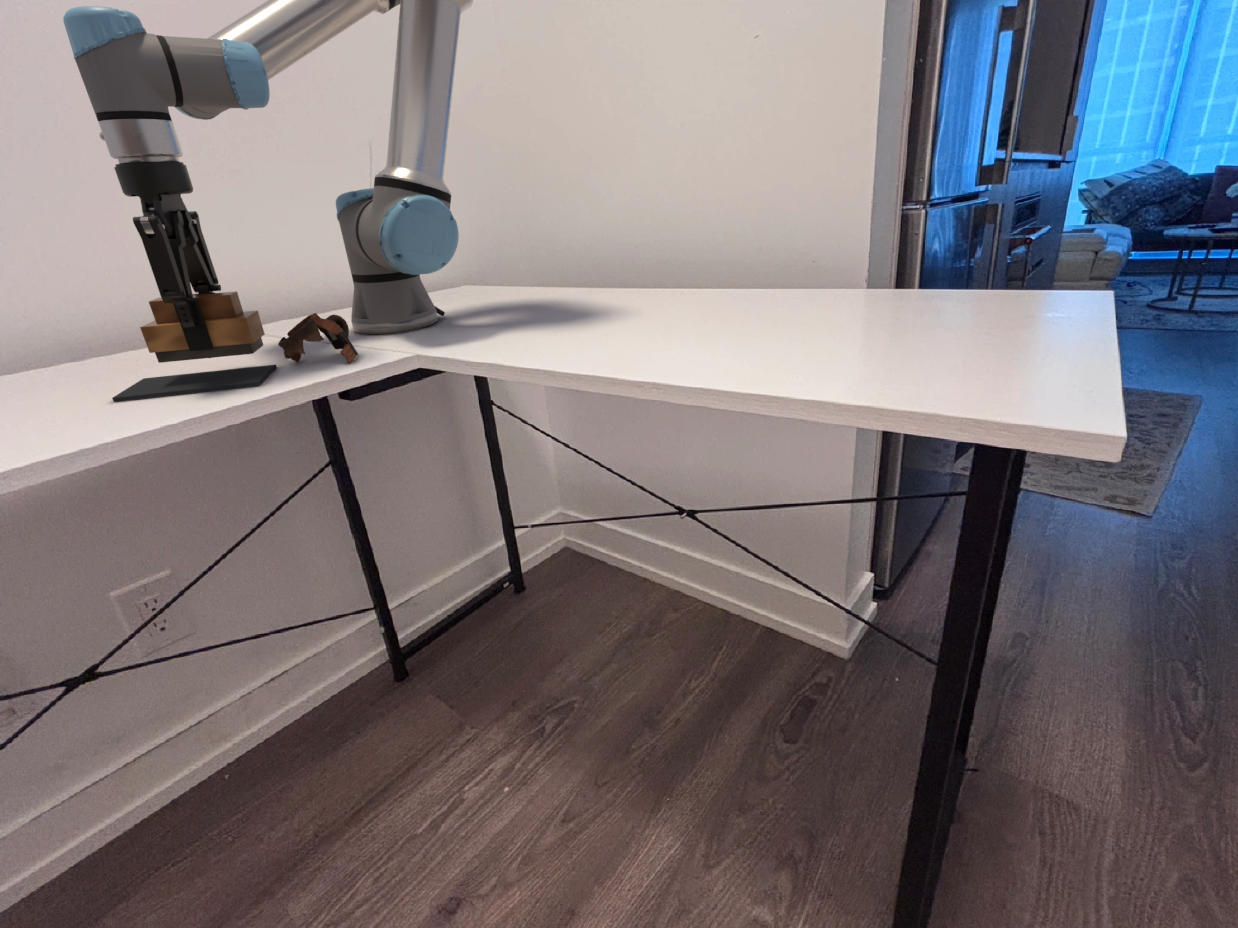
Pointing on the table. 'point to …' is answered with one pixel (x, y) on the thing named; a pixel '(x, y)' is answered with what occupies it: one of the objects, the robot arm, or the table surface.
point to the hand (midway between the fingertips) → (210, 343)
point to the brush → (223, 322)
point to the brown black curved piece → (318, 336)
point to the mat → (196, 383)
